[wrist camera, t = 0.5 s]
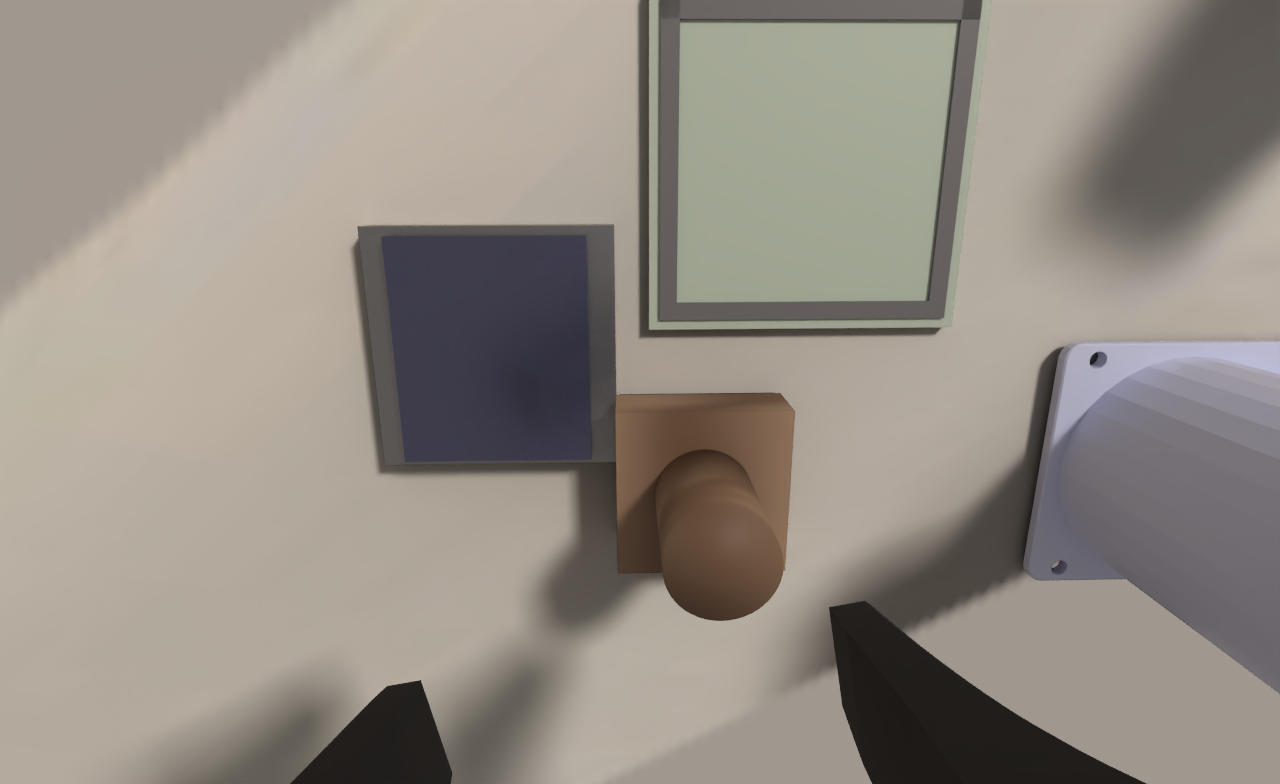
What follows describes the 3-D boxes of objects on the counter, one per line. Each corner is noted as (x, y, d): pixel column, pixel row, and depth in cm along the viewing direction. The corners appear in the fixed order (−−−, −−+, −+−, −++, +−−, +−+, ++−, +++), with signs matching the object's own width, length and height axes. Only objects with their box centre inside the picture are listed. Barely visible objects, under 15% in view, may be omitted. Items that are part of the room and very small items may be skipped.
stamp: (776, 388, 21) (839, 466, 15) (768, 533, 22) (823, 658, 16) (616, 390, 21) (613, 468, 15) (618, 536, 22) (616, 662, 16)
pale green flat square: (985, -10, 18) (995, -15, 17) (944, 325, 20) (952, 327, 20) (648, -11, 18) (649, -17, 17) (648, 327, 20) (649, 330, 20)
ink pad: (613, 224, 19) (613, 225, 18) (616, 452, 21) (616, 467, 20) (368, 225, 19) (351, 227, 18) (393, 455, 21) (380, 469, 20)
